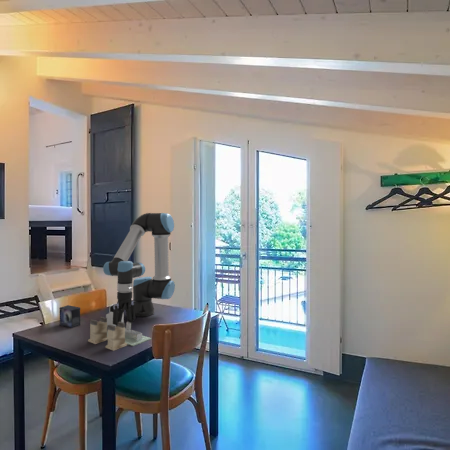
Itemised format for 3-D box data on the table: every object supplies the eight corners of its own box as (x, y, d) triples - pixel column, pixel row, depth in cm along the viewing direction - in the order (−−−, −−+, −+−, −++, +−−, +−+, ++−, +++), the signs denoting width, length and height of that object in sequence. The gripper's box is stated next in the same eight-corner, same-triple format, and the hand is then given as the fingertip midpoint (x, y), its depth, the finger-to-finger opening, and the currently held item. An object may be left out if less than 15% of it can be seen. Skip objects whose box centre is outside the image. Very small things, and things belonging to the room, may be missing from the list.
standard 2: (119, 342, 175) (119, 321, 175) (127, 345, 172) (127, 323, 171) (105, 347, 168) (105, 325, 168) (113, 350, 165) (113, 327, 165)
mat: (118, 329, 195) (118, 328, 195) (151, 339, 180) (151, 338, 180) (99, 335, 186) (99, 334, 185) (132, 346, 171) (132, 345, 171)
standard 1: (101, 337, 183) (101, 316, 183) (109, 339, 180) (109, 318, 179) (88, 341, 176) (88, 319, 176) (95, 344, 173) (95, 322, 173)
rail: (108, 332, 188) (108, 326, 187) (114, 331, 190) (114, 324, 190) (136, 341, 175) (136, 334, 175) (142, 339, 178) (142, 332, 178)
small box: (58, 325, 201) (58, 307, 201) (68, 322, 207) (68, 304, 207) (71, 328, 196) (71, 309, 196) (80, 325, 202) (80, 307, 202)
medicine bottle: (123, 324, 204) (123, 303, 204) (116, 328, 197) (116, 306, 197) (113, 323, 206) (113, 302, 206) (105, 326, 199) (105, 305, 199)
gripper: (114, 295, 172) (113, 342, 173) (143, 289, 187) (142, 333, 187) (105, 292, 177) (104, 339, 177) (133, 287, 192) (132, 330, 192)
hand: (123, 335), depth 182 cm, fingers open, 5 cm apart
